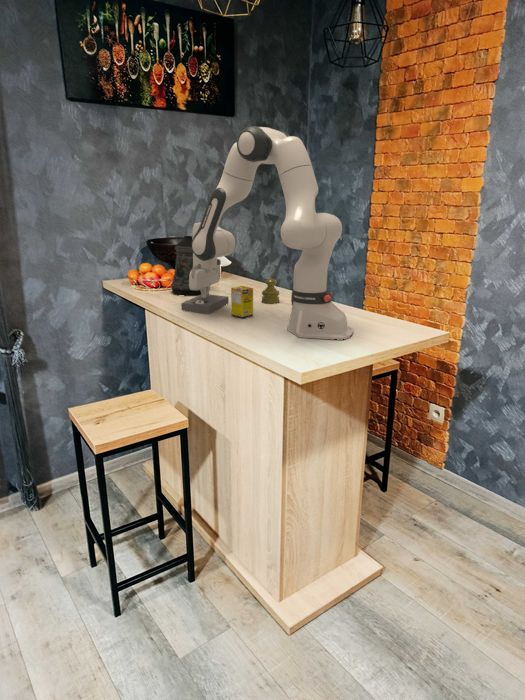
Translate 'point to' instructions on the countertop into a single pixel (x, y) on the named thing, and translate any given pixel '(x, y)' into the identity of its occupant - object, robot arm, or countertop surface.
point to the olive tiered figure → (270, 292)
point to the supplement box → (242, 302)
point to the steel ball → (200, 302)
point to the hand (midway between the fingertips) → (205, 297)
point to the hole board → (210, 304)
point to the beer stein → (183, 268)
